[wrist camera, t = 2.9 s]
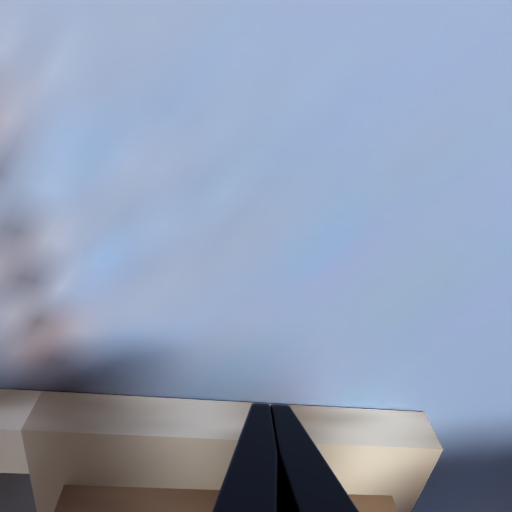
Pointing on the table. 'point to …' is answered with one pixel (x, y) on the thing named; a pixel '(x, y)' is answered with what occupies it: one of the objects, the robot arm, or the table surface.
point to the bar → (171, 500)
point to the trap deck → (190, 445)
